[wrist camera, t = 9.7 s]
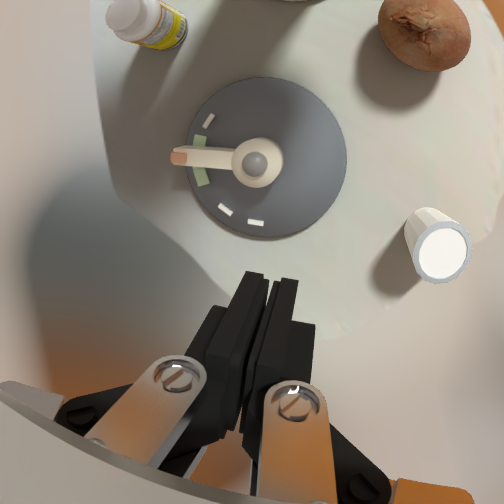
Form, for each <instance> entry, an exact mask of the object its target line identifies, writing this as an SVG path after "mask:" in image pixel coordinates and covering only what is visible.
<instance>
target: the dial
mask: <svg viewBox="0 0 504 504" xmlns="http://www.w3.org/2000/svg"><path fill="white" fill-rule="evenodd" d="M258 137H265V138H269V139H272V140H273V141H275V142H276V143H277V144H278V145H279V146H280V147H281V149H282V151H283V153H284V166H283V168H282V170H281V172H280V173H279V175H278V176H277V177H276V178H275V180H274V181H273V182H272V183H270V184H269V185H267V186H264V187H260V188H253V187H249V186H246V185H244V184H243V183H241V182H240V181H239V180H238V179H237V178H236V176H235V175H234V173H233V170H228V169H217V168H206V167H194V166H186V171H187V175H188V178H189V181H190V184H191V186H192V189H193V191H194V193H195V194H196V196H197V198H198V199H199V201H200V202H201V204H202V205H203V206H204V207H205V208H206V210H207V211H208V212H209V213H210V214H211V215H212V216H214V217H215V218H216V219H217V220H218V221H220V222H222V223H223V224H225V225H226V226H228V227H230V228H232V229H234V230H236V231H239V232H242V233H245V234H249V235H253V236H261V237H276V236H283V235H287V234H291V233H295V232H297V231H299V230H302V229H304V228H306V227H308V226H309V225H311V224H313V223H314V222H315V221H317V220H318V219H319V218H320V217H322V216H323V214H324V213H325V212H326V211H327V210H328V209H329V208H330V207H331V205H332V204H333V203H334V201H335V199H336V198H337V196H338V194H339V192H340V190H341V187H342V184H343V182H344V177H345V173H346V164H347V155H346V146H345V141H344V137H343V134H342V131H341V128H340V126H339V124H338V122H337V120H336V118H335V117H334V115H333V114H332V112H331V111H330V110H329V108H328V107H327V106H326V105H325V104H324V103H323V102H322V101H321V100H320V99H319V98H318V97H317V96H315V95H314V94H313V93H311V92H310V91H308V90H307V89H305V88H304V87H301V86H299V85H297V84H295V83H293V82H289V81H286V80H282V79H277V78H266V77H259V78H250V79H246V80H242V81H238V82H236V83H233V84H231V85H228V86H226V87H225V88H223V89H221V90H220V91H218V92H217V93H216V94H214V95H213V96H212V97H210V98H209V100H208V101H207V102H206V103H205V104H204V105H203V106H202V107H201V109H200V110H199V111H198V113H197V114H196V116H195V118H194V120H193V121H192V124H191V126H190V129H189V132H188V136H187V140H186V145H190V146H206V147H221V148H233V149H236V148H237V147H238V146H239V145H240V144H242V143H243V142H245V141H248V140H251V139H254V138H258Z"/></svg>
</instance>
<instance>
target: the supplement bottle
mask: <svg viewBox="0 0 504 504" xmlns="http://www.w3.org/2000/svg"><path fill="white" fill-rule="evenodd" d="M106 23H107V25H108V27H109V28H111V29H113V31H114V33H115V34H116V36H117V37H118V38H120V39H122V40H124V41H127V42H131V43H135V44H139V45H143V46H146V47H150V48H153V49H157V50H169V49H172V48H174V47H176V46H177V45H178V44H180V43H181V42H182V40H183V39H184V38H185V36H186V34H187V30H188V22H187V19H186V17H185V16H184V15H183V14H182V13H181V12H179V11H178V10H176V9H174V8H173V7H171V6H169V5H167V4H166V3H164V2H162V1H160V0H114V1H113V2H112V4H111V5H110V6H109V8H108V10H107V13H106Z"/></svg>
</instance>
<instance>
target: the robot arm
mask: <svg viewBox="0 0 504 504" xmlns="http://www.w3.org/2000/svg"><path fill="white" fill-rule="evenodd" d="M284 1H306V0H284ZM263 278H264V275H263V274H260V273H255V272H250V271H246V272H245V274H244V276H243V278H242V280H241V282H240V284H239V286H238V288H237V290H236V292H235V294H234V296H233V298H232V300H231V302H230V304H229V306H228V308H225V307H221V306H217V305H214V306H213V307H212V308H211V309H210V311H209V313H208V315H207V317H206V318H205V320H204V322H203V324H202V325H201V327H200V329H199V330H198V332H197V334H196V335H195V337H194V339H193V341H192V342H191V344H190V346H189V348H188V349H187V351H186V353H185V355H184V356H183V355H171V356H165V357H163V358H160V359H158V360H156V361H155V362H154V363H153V364H152V365H151V366H150V367H149V368H148V369H147V370H146V371H145V372H144V373H143V374H142V375H141V376H140V377H139V378H138V379H137V381H136V382H135V383H133V384H129V385H125V386H121V387H117V388H114V389H110V390H106V391H101V392H97V393H93V394H88V395H84V396H80V397H76V398H73V399H70V400H69V401H68V400H66V399H65V397H64V396H62V395H58V394H55V393H51V392H47V391H44V390H41V389H37V388H34V387H31V386H27V385H24V384H21V383H18V382H14V381H6V382H2V383H0V504H474V500H473V498H472V496H471V495H470V494H469V493H468V492H467V491H466V490H463V489H460V488H455V487H448V486H441V485H434V484H428V483H422V482H417V481H412V480H406V479H402V478H399V479H398V480H397V481H395V480H390V479H388V478H387V476H386V475H385V474H384V473H383V472H382V471H381V470H380V469H379V468H378V467H377V466H376V465H374V464H373V463H372V462H371V461H370V460H369V459H368V458H367V457H365V456H364V455H363V454H362V453H361V452H360V451H359V450H358V449H357V448H356V447H355V446H354V445H353V444H351V443H350V442H349V441H348V440H347V439H346V438H345V437H344V436H343V435H342V434H341V433H340V432H339V431H338V430H336V428H335V427H334V426H332V425H331V424H330V423H329V417H328V410H327V403H326V400H325V397H324V396H323V394H322V393H321V392H320V391H319V390H318V389H317V388H315V387H314V386H313V385H310V379H311V370H312V359H313V349H314V338H315V324H309V323H304V322H298V321H292V314H293V309H294V304H295V298H296V293H297V287H298V281H299V280H294V279H288V278H281V282H279V281H274V283H273V286H272V289H271V292H270V296H269V299H268V302H267V305H266V301H267V294H268V287H269V280H268V279H263ZM242 404H243V405H242ZM241 408H242V413H241V421H240V429H239V432H240V433H243V434H244V435H243V441H242V447H243V448H244V449H245V451H246V452H247V453H248V454H249V456H250V457H251V458H252V461H251V471H250V483H249V495H245V494H240V493H236V492H231V491H227V490H223V489H219V488H215V487H212V486H208V485H204V484H201V483H197V482H194V481H191V480H188V478H189V477H190V475H191V474H192V472H193V470H194V469H195V467H196V466H197V464H198V463H199V461H200V459H201V458H202V456H203V454H204V453H205V451H206V448H207V445H208V444H211V443H213V442H216V441H218V440H219V439H220V438H221V439H224V437H225V434H226V432H227V430H230V431H234V429H235V426H236V423H237V420H238V417H239V414H240V411H241Z"/></svg>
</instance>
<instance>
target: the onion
mask: <svg viewBox="0 0 504 504" xmlns="http://www.w3.org/2000/svg"><path fill="white" fill-rule="evenodd" d="M378 22H379V29H380V33H381V36H382V38H383V40H384V42H385V44H386V45H387V47H388V48H389V50H390V51H391V52H392V53H393V54H394V55H395V56H396V57H397V58H398V59H399V60H400V61H402V62H403V63H405V64H407V65H409V66H411V67H413V68H415V69H418V70H423V71H428V72H436V71H444V70H447V69H449V68H452V67H455V66H456V65H458V64H459V63H460V62H461V61H462V60H463V59H464V58H465V56H466V55H467V53H468V51H469V48H470V43H471V34H470V27H469V23H468V21H467V18H466V16H465V14H464V13H463V11H462V10H461V9H460V7H459V6H458V5H457V4H456V3H455V2H454V1H453V0H384V2H383V3H382V6H381V8H380V11H379V15H378Z"/></svg>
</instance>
